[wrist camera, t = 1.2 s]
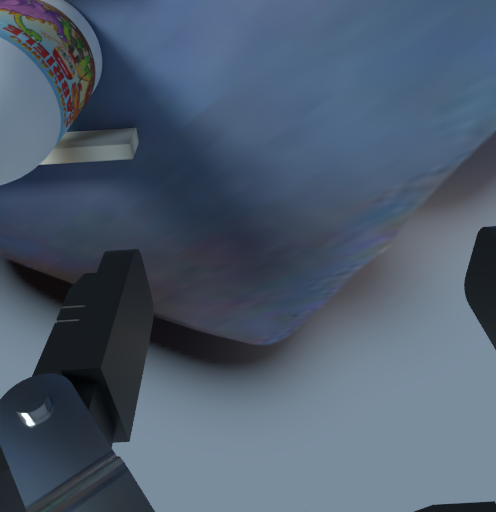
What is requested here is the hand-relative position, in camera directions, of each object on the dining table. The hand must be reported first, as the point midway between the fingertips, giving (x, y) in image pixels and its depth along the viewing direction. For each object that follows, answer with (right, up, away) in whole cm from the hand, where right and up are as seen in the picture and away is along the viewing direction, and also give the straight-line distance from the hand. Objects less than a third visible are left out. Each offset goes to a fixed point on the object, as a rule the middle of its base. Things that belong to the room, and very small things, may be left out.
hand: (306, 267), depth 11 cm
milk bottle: (-15, +15, +22) cm, 31 cm away
